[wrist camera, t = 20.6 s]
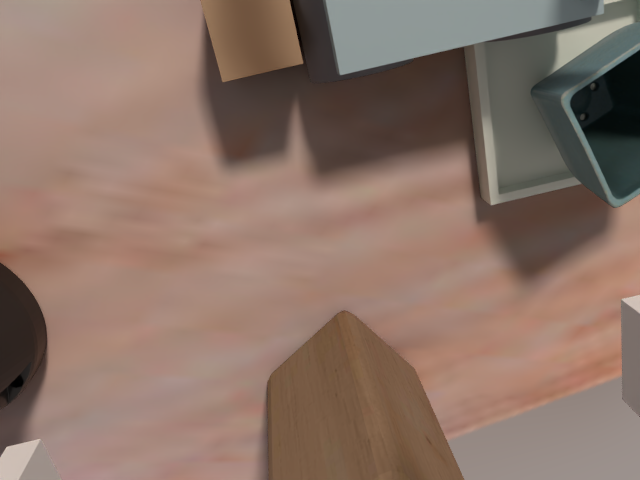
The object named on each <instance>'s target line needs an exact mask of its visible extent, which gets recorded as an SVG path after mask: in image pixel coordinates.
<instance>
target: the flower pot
mask: <svg viewBox="0 0 640 480" xmlns="http://www.w3.org/2000/svg"><path fill="white" fill-rule="evenodd" d="M592 83H595V84H596V88H595V89H594V90H592V89H591V88H590V87H591V84H592ZM530 93H531V96H532V99H533V101H534V103H535V104H536V106H537V108H538V110H539V112H540V114H541V116H542V118H543V120H544V122H545V124H546V126H547V128H548V130H549V132H550V134H551V136H552V138H553V140H554V142H555V144H556V146H557V148H558V150H559V152H560V154H561V157H562V158H563V160H564V162H565V164H566V166H567V167H568V169H569V170H570V172H571V173H572V174H573V175H574V177H575V178H576V179H577V180H578V181H580V182H581V183H582V184H583V185H584V186H586V187H587V188H588V189H590V190H591V191H592V192H594V193H595V194H596V195H597V196H599V197H600V198H601V199H603V200H604V201H605V202H607V203H608V204H609V205H610V206H612V207H614V208H617V207H620V206H622V205H624V204H625V203H627V202H629V201H630V200H632V199H633V198H634V197H636V196H638V195H639V194H640V22H636V23H633V24H630V25H627V26H625V27H622V28H620V29H618V30H616V31H614V32H613V33H611V34H609V35H608V36H606V37H605V38H603V39H602V40H600V41H599V42H597V43H596V44H594V45H593V46H592V47H590V48H589V49H587V50H586V51H584V52H583V53H581V54H580V55H578V56H577V57H575V58H574V59H573V60H571V61H570V62H568V63H567V64H565V65H564V66H562V67H561V68H559V69H558V70H556V71H555V72H553V73H552V74H551V75H549V76H548V77H546V78H545V79H543V80H542V81H540V82H538V83H537V84H536V85H534V86H533V87H532V89H531V92H530ZM583 113H584V114H586V118H585V119H584V120H581V119H580V116H581V114H583Z"/></svg>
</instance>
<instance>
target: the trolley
mask: <svg viewBox="0 0 640 480" xmlns="http://www.w3.org/2000/svg"><path fill="white" fill-rule="evenodd" d="M293 3H294V8H295V12H296V17H297V22H298V26H299V31H300V36H301V40H302V45H303V50H304V54H305V59H306V64H307V68H308V73H309V78H310V82H311V83H327V82H334V81H341V80H346V79H352V78H357V77H361V76H366V75H370V74H374V73H379V72H382V71H386V70H390V69H393V68H397V67H400V66H403V65H405V64H408V63H410V62H412V61H413V58H416V57H420V56H425V55H429V54H433V53H438V52H442V51H446V50H450V49H455V48H459V47H463V46H468V45H472V44H476V43H480V42H496V41H504V40H511V39H518V38H524V37H530V36H535V35H540V34H545V33H550V32H554V31H559V30H563V29H567V28H571V27H575V26H578V25H581V24H584V23H587V22H589V21H591V20H592V16H596V15H600V14H604V0H293Z"/></svg>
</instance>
